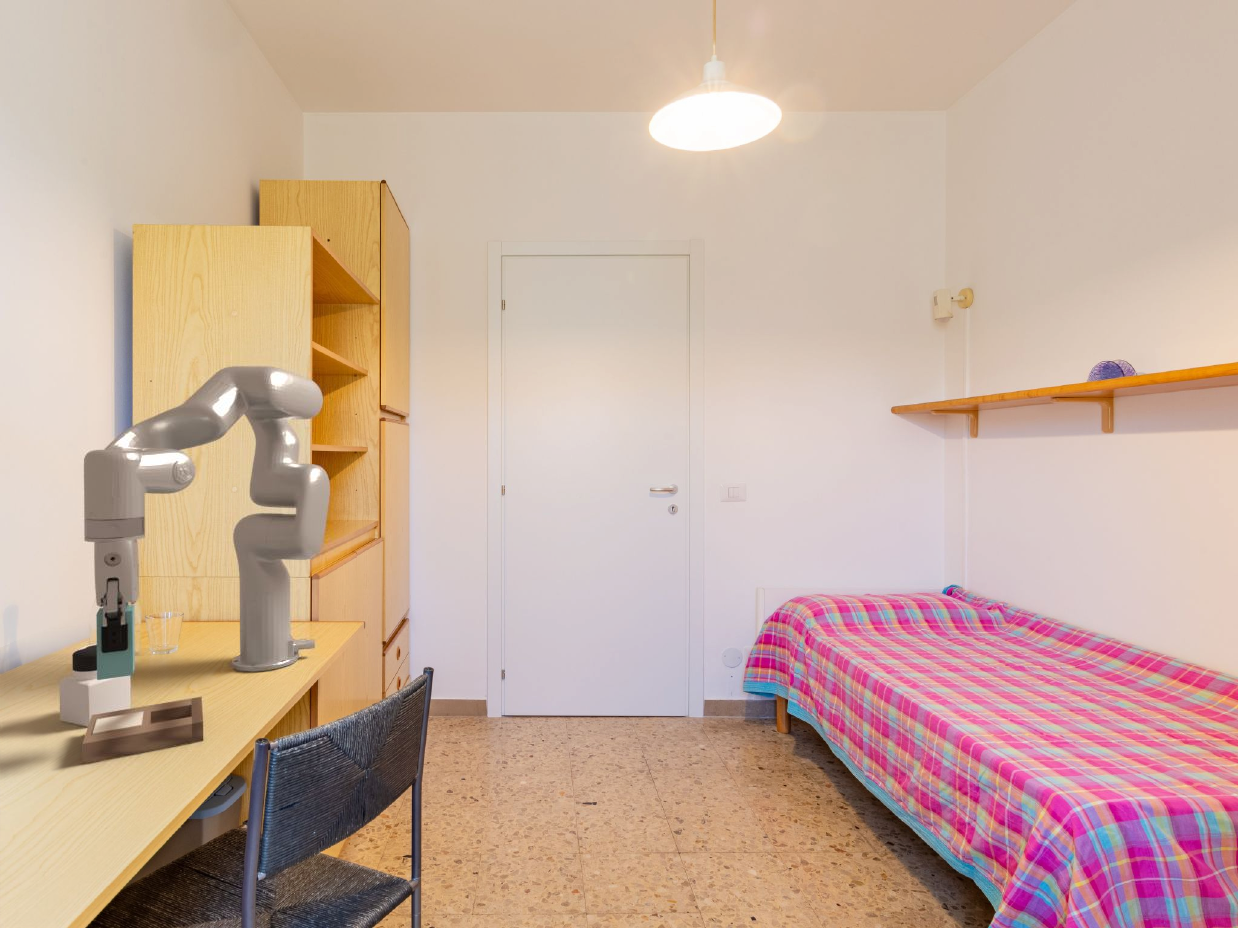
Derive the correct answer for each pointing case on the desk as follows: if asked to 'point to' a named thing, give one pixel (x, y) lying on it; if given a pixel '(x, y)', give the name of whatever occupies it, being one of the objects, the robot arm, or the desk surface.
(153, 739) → the pocket board
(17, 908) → the desk surface
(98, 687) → the medicine bottle
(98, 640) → the peg
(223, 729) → the desk surface
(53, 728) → the desk surface
